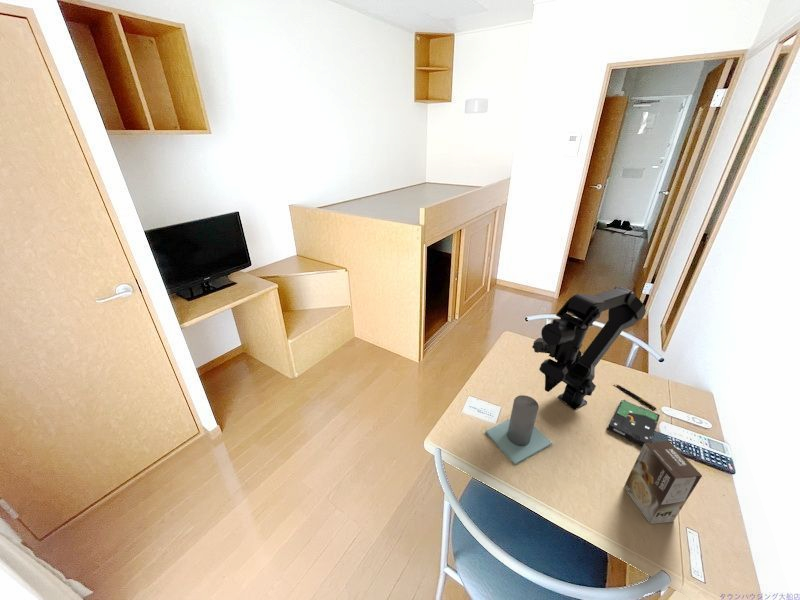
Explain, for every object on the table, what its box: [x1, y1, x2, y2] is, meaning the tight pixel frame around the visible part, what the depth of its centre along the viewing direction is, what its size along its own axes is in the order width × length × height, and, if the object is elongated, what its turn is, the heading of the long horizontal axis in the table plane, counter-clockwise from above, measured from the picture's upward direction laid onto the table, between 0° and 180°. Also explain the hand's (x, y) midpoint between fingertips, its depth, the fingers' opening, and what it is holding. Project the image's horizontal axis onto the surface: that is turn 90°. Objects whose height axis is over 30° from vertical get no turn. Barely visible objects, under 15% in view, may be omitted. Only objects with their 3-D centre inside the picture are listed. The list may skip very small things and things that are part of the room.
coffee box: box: [623, 440, 703, 525], centre depth 75 cm, size 9×6×16 cm
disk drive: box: [607, 399, 660, 448], centre depth 99 cm, size 10×3×15 cm
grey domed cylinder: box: [507, 394, 540, 446], centre depth 92 cm, size 6×6×13 cm
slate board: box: [485, 418, 553, 466], centre depth 95 cm, size 14×12×1 cm
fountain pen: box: [613, 382, 658, 411], centre depth 109 cm, size 14×1×2 cm, turn 29°
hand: (551, 384), depth 97 cm, fingers open, 9 cm apart
